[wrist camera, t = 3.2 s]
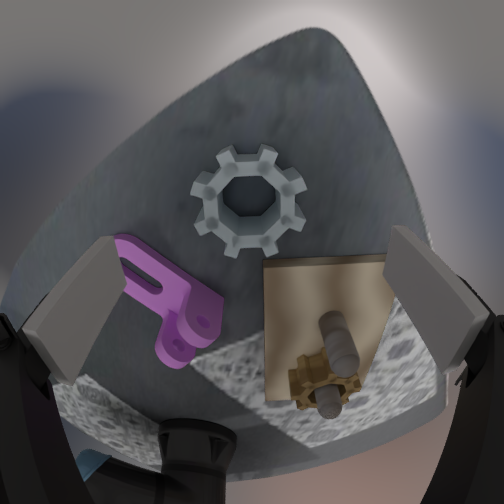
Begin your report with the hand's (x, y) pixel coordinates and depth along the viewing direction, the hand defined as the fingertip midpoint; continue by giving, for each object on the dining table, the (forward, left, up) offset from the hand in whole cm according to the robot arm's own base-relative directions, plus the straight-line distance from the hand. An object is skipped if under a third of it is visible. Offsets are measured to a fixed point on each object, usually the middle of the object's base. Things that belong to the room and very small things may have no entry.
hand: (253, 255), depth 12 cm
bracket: (-10, -9, -12) cm, 18 cm away
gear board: (+8, -18, -12) cm, 23 cm away
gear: (0, 0, -12) cm, 12 cm away
